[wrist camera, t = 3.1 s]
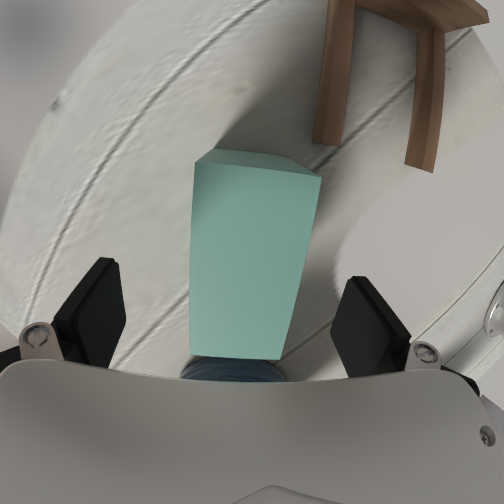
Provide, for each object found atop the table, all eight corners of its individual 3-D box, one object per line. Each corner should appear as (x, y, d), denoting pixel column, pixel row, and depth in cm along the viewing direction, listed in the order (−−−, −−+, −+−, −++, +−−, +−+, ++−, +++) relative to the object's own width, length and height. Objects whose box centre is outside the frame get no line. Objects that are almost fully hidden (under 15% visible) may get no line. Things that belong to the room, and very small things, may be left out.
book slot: (427, 28, 13) (487, 10, 6) (415, 167, 19) (481, 192, 12) (329, -13, 13) (370, -61, 5) (311, 141, 18) (358, 150, 11)
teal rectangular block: (284, 156, 19) (322, 177, 11) (264, 279, 23) (279, 359, 15) (213, 148, 18) (195, 162, 10) (203, 274, 22) (190, 354, 14)
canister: (308, 363, 28) (347, 516, 12) (264, 421, 33) (277, 536, 17) (186, 338, 25) (162, 520, 9) (169, 404, 30) (153, 529, 14)
